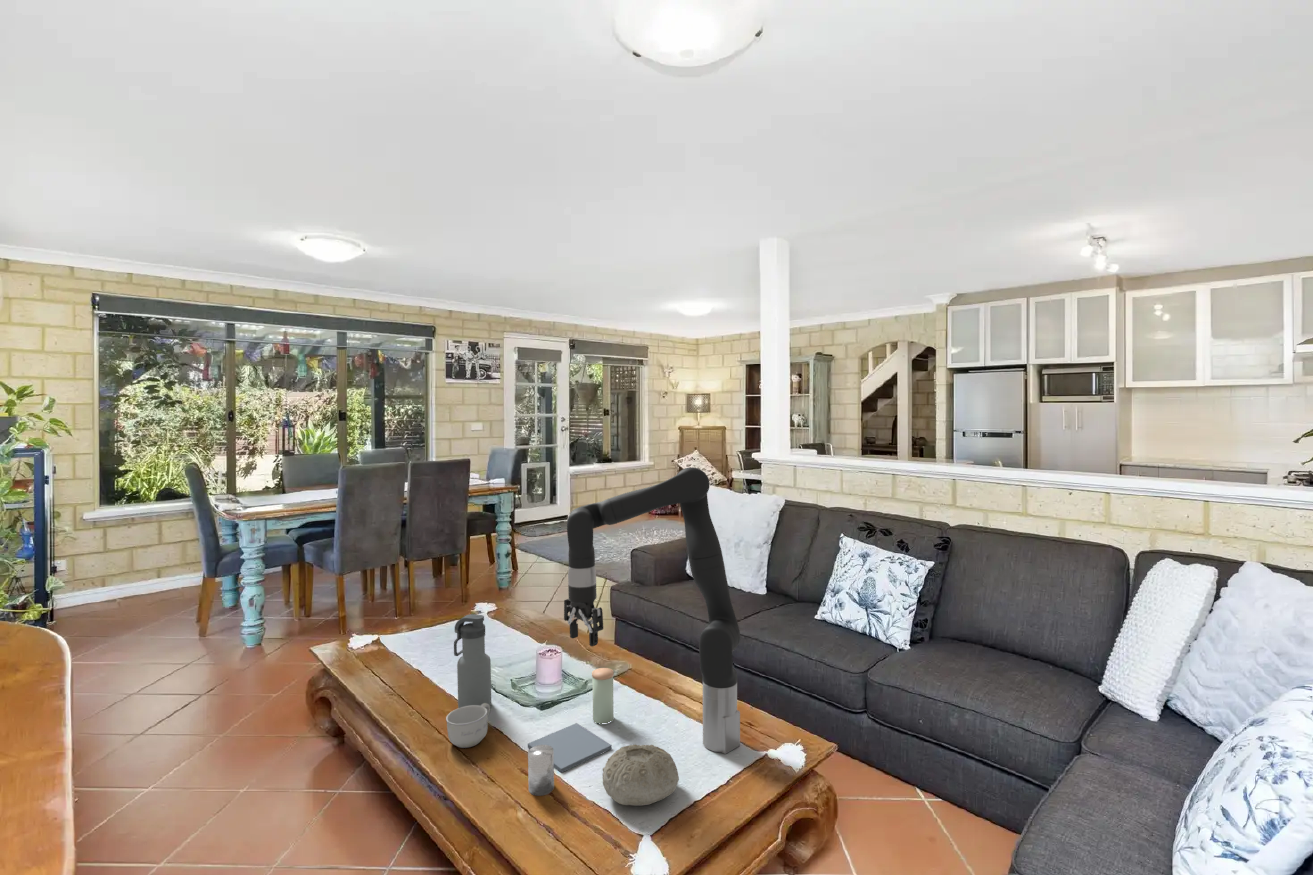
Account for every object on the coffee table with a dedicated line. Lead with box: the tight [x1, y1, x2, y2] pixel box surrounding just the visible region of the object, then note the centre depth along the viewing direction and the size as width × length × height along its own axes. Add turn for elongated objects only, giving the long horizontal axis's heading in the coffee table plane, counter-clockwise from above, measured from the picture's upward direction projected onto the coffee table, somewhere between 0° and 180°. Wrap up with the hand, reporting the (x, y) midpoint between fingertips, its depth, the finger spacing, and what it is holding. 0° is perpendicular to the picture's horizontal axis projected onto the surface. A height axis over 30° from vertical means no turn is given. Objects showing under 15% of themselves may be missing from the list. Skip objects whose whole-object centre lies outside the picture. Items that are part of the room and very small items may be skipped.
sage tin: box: [591, 667, 615, 725], centre depth 183 cm, size 6×6×14 cm
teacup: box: [445, 703, 491, 749], centre depth 172 cm, size 14×11×8 cm
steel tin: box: [527, 745, 555, 797], centre depth 150 cm, size 6×6×9 cm
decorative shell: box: [602, 743, 680, 807], centre depth 148 cm, size 18×18×10 cm
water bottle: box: [453, 613, 492, 709], centre depth 190 cm, size 10×10×28 cm
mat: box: [527, 722, 612, 773], centre depth 168 cm, size 16×16×1 cm
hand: (583, 641), depth 170 cm, fingers open, 8 cm apart
